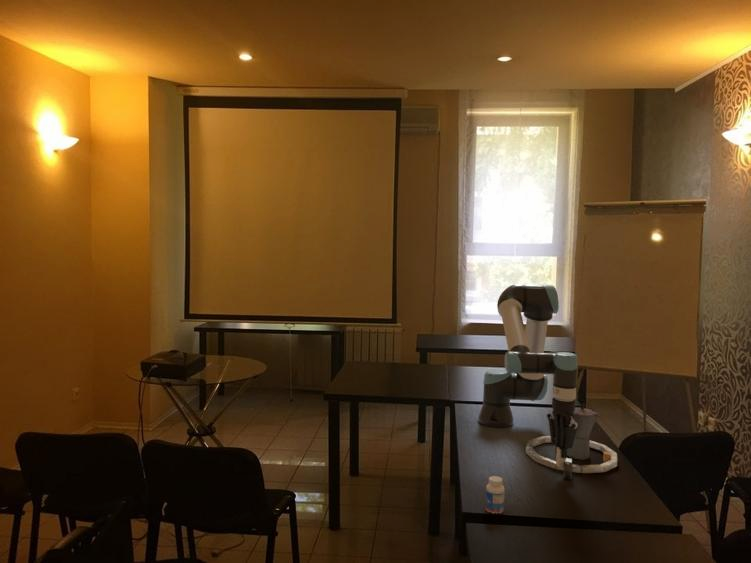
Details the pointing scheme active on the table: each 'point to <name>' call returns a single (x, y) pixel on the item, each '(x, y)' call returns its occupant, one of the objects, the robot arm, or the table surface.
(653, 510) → the table surface
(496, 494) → the pill bottle
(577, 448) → the moka pot
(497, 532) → the table surface
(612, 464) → the indicator ring
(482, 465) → the table surface
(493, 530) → the table surface
